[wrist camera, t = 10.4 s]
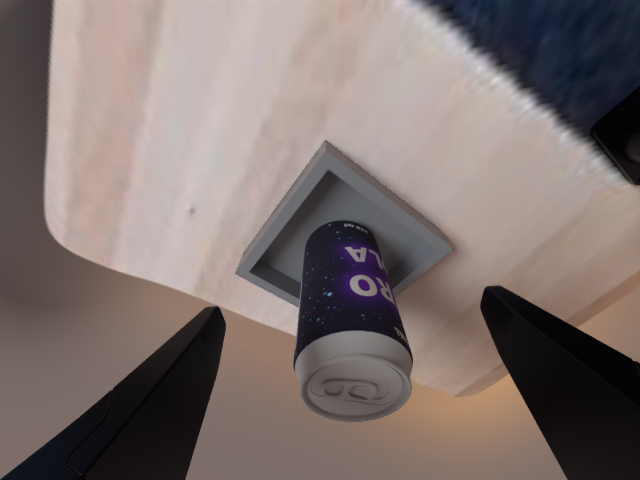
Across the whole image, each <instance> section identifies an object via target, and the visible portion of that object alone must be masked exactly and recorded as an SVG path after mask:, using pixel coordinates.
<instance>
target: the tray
mask: <svg viewBox="0 0 640 480" xmlns="http://www.w3.org/2000/svg"><path fill="white" fill-rule="evenodd" d="M339 220H347V221H353V222H356V223H359V224H361V225H363V226H364V227H366V228H367V229H368V230H369V231H370V232H371V233H372V234H373V235H374V237H375V239H376V241H377V244H378V248H379V251H380V254H381V257H382V260H383V264H384V267H385V270H386V273H387V276H388V280H389V283H390V286H391V289H392V292H393V296H394V298H395V297H397V296H398V295H399V294H400V293H401V292H402V291H404V290H405V289H406V288H407V287H408V286H410V285H411V284H412V283H413V282H414V281H416V280H417V279H418V278H419V277H420V276H422V275H423V274H424V273H425V272H426V271H428V270H429V269H430V268H431V267H432V266H434V265H435V264H436V263H437V262H438V261H440V260H441V259H442V258H443V257H444V256H445V255H447V254H448V253H449V252H450V251H451V250H453V249H454V248H453V247H452V246H451V244H450V243H449V242H448V240H447V239H446V238H445V236H444V235H443V233H442V232H441V231H440V229H439V228H438V227H436V226H435V225H434V224H433V223H431V222H430V221H429V220H427V219H426V218H425V217H424V216H422V215H421V214H420V213H418V212H417V211H416V210H415V209H413V208H412V207H411V206H409V205H408V204H407V203H406V202H404V201H403V200H402V199H401V198H399V197H398V196H397V195H395V194H394V193H393V192H392V191H390V190H389V189H388V188H386V187H385V186H384V185H383V184H381V183H380V182H379V181H377V180H376V179H375V178H374V177H372V176H371V175H370V174H368V173H367V172H366V171H365V170H363V169H362V168H361V167H360V166H358V165H357V164H356V163H354V162H353V161H352V160H351V159H349V158H348V157H347V156H345V155H344V154H343V153H342V152H340V151H339V150H338V149H336V148H335V147H334V146H333V145H331V144H330V143H329V142H327V141H326V140H325V141H324V142H323V144H322V145H321V147H320V148H319V149H318V151H317V152H316V153H315V155H314V156H313V158H312V159H311V160H310V162H309V163H308V164H307V166H306V167H305V169H304V170H303V171H302V173H301V174H300V175H299V177H298V178H297V180H296V181H295V182H294V184H293V185H292V187H291V188H290V189H289V191H288V192H287V193H286V195H285V196H284V198H283V199H282V200H281V202H280V203H279V204H278V206H277V207H276V209H275V210H274V211H273V213H272V214H271V215H270V217H269V218H268V220H267V221H266V222H265V224H264V225H263V227H262V228H261V229H260V231H259V232H258V233H257V235H256V236H255V238H254V239H253V240H252V242H251V243H250V244H249V246H248V247H247V249H246V250H245V251H244V253H243V256H242V258H241V260H240V263H239V265H238V267H237V270H236V272H235V274H236V275H238V276H240V277H242V278H244V279H246V280H248V281H249V282H251V283H253V284H255V285H257V286H259V287H261V288H263V289H265V290H266V291H268V292H270V293H272V294H274V295H276V296H278V297H280V298H281V299H283V300H285V301H287V302H289V303H291V304H293V305H295V306H297V307H298V308H299V303H300V293H301V283H302V273H303V263H304V253H305V246H306V242H307V240H308V238H309V237H310V235H311V234H312V233H313V232H314V231H315V230H316V229H317V228H319V227H320V226H322V225H324V224H326V223H329V222H332V221H339Z"/></svg>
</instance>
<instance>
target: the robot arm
mask: <svg viewBox="0 0 640 480" xmlns="http://www.w3.org/2000/svg"><path fill="white" fill-rule="evenodd" d="M603 126H604V128H603V129H602V131H600V130H601V128H602V127H603ZM591 134H592V136H593V137H594V138H595V139H596V140H597V142H598V143H599V144H600V145H601V147H602V148H603V149H604V150H605V152H606V153H607V154H608V155H609V157H610V158H611V159H612V160H613V162H614V163H615V164H616V165H617V167H618V168H619V169H620V170H621V172H622V173H623V174H624V175H625V177H626V178H627V179H628V180H629V182H631V183H633V184H635V185H640V86H639V87H638V88H637V89H636V90H634V91H633V92H632V93H631V94H630V95H629V96H627V97H626V98H625V99H624V100H623V101H621V102H620V103H619V104H618V105H617V106H616V107H614V108H613V109H612V110H611V111H610V112H608V113H607V114H606V115H605V116H604V117H603V118H601V119H600V120H599V121H598V122H597V123H596V124H595V125H594V126H593V127H592V129H591ZM480 308H481V312H482V315H483V317H484V319H485V322H486V324H487V327H488V329H489V331H490V334H491V336H492V339H493V341H494V343H495V346H496V348H497V350H498V353H499V355H500V357H501V359H502V361H503V363H504V364H505V366H506V368H507V370H508V372H509V373H510V375H511V377H512V379H513V381H514V383H515V384H516V386H517V388H518V390H519V392H520V394H521V395H522V397H523V399H524V401H525V403H526V405H527V406H528V408H529V410H530V412H531V413H532V416H533V417H534V419H535V421H536V423H537V425H538V426H539V428H540V430H541V432H542V434H543V436H544V437H545V439H546V441H547V443H548V445H549V447H550V448H551V450H552V452H553V454H554V455H555V458H556V459H557V461H558V463H559V465H560V467H561V468H562V470H563V472H564V474H565V476H566V477H567V479H568V480H640V363H638V362H636V361H633V360H632V359H631V358H629V357H627V356H626V355H624V354H622V353H620V352H618V351H617V350H615V349H613V348H611V347H609V346H608V345H606V344H604V343H602V342H600V341H599V340H597V339H595V338H593V337H592V336H590V335H588V334H586V333H584V332H583V331H581V330H579V329H577V328H575V327H574V326H572V325H570V324H568V323H566V322H565V321H563V320H561V319H559V318H557V317H556V316H554V315H552V314H550V313H548V312H547V311H545V310H543V309H541V308H539V307H538V306H536V305H534V304H532V303H531V302H529V301H527V300H525V299H523V298H522V297H520V296H518V295H516V294H514V293H513V292H511V291H509V290H507V289H505V288H504V287H502V286H498V285H496V286H487V287H486V288H485V289H484V292H483V296H482V300H481V304H480ZM225 330H226V323H225V320H224V317H223V315H222V313H221V310H220V308H219V307H218V306H212V307H206V308H204V309H203V310H202V311H201V312H200V313H199V314H198V315H196V316H195V317H194V318H193V319H192V320H191V321H189V322H188V323H187V324H186V325H185V326H184V327H183V328H181V329H180V330H179V331H178V332H177V333H176V334H175V335H174V336H172V337H171V338H170V339H169V340H168V341H167V342H165V344H163V345H162V346H161V347H160V348H159V349H157V350H156V351H155V352H154V353H153V354H152V355H151V356H149V357H148V358H147V359H146V360H145V361H144V362H143V363H141V364H140V365H139V366H138V367H137V368H136V369H135V370H133V371H132V372H131V373H130V374H129V375H128V376H127V377H125V378H124V379H123V380H122V381H121V382H120V383H118V384H117V385H116V386H115V387H114V388H113V390H111V391H109V392H108V393H107V394H106V395H105V396H104V397H102V398H101V399H100V400H99V401H98V402H97V403H96V404H94V405H93V406H92V407H91V408H90V409H88V410H87V411H86V412H85V413H84V414H83V415H81V416H80V417H79V418H78V419H76V420H75V421H74V422H73V423H71V424H70V425H69V426H68V427H66V428H65V429H64V430H63V431H62V432H60V433H59V434H58V435H56V436H55V437H54V438H53V439H51V440H50V441H49V442H47V443H46V444H45V445H44V446H43V447H41V448H40V449H39V450H37V451H36V452H35V453H34V454H32V455H31V456H30V457H28V458H27V459H26V460H25V461H23V462H22V463H21V464H20V465H18V466H17V467H16V468H14V469H13V470H12V471H10V472H9V473H8V474H7V475H5V476H4V477H3V478H1V479H0V480H185V479H186V475H187V472H188V469H189V465H190V462H191V459H192V455H193V452H194V449H195V445H196V442H197V438H198V435H199V432H200V429H201V425H202V422H203V419H204V416H205V412H206V409H207V405H208V402H209V399H210V395H211V392H212V389H213V386H214V382H215V379H216V375H217V372H218V368H219V363H220V357H221V351H222V347H223V341H224V336H225Z"/></svg>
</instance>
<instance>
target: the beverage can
mask: <svg viewBox="0 0 640 480" xmlns="http://www.w3.org/2000/svg"><path fill="white" fill-rule="evenodd" d="M412 365H413V357H412V353H411V350H410V347H409V343H408V340H407V337H406V334H405V331H404V327H403V324H402V321H401V318H400V315H399V312H398V308H397V305H396V302H395V299H394V296H393V292H392V289H391V286H390V283H389V280H388V276H387V273H386V270H385V267H384V264H383V260H382V257H381V254H380V251H379V248H378V244H377V241H376V239H375V237H374V235H373V234H372V233H371V232H370V231H369V230H368V229H367V228H366V227H364V226H363V225H361V224H359V223H356V222H353V221H347V220H339V221H332V222H329V223H326V224H324V225H322V226H320V227H319V228H317V229H316V230H315V231H314V232H313V233H312V234H311V235H310V237H309V238H308V240H307V242H306V246H305V253H304V263H303V273H302V283H301V293H300V303H299V313H298V323H297V333H296V343H295V354H294V371H295V374H296V376H297V379H298V381H299V383H300V395H301V398H302V400H303V402H304V404H305V405H306V406H307V407H308V408H309V409H310V410H311V411H313V412H315V413H316V414H318V415H320V416H323V417H325V418H328V419H332V420H337V421H344V422H362V421H369V420H374V419H378V418H382V417H384V416H387V415H389V414H391V413H393V412H395V411H396V410H398V409H399V408H401V407H402V406H403V405H404V404H405V403H406V401H407V400H408V399H409V396H410V394H411V389H412V386H411V381H410V374H411V370H412Z"/></svg>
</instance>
